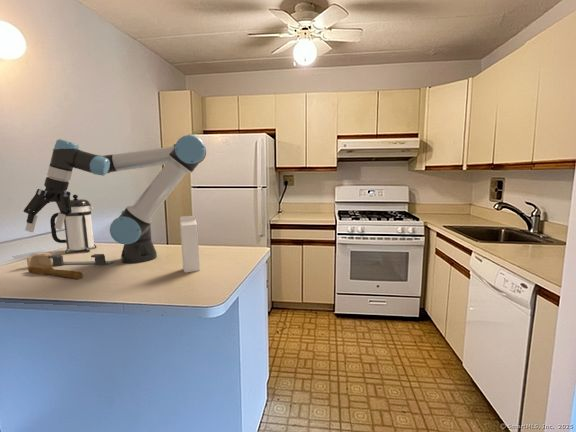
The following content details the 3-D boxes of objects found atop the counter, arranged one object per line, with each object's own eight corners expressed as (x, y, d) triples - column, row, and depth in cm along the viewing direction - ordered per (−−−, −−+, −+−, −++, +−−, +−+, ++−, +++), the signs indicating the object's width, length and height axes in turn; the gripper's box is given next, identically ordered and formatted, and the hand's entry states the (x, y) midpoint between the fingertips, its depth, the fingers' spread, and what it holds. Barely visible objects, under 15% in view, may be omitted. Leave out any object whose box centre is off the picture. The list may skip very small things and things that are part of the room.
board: (113, 262, 142) (112, 249, 141) (102, 267, 133) (100, 254, 133) (42, 263, 143) (41, 251, 142) (26, 269, 134) (25, 255, 134)
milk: (200, 270, 126) (196, 216, 123) (184, 272, 123) (180, 217, 120) (197, 266, 131) (194, 214, 128) (182, 268, 129) (179, 215, 126)
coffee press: (89, 246, 178) (83, 193, 174) (102, 249, 168) (96, 193, 165) (53, 252, 164) (46, 195, 160) (65, 256, 155) (58, 196, 151)
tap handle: (75, 273, 118) (25, 266, 129) (76, 280, 118) (26, 273, 129) (83, 270, 120) (33, 264, 131) (83, 278, 121) (34, 271, 132)
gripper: (73, 178, 137) (60, 225, 138) (20, 172, 112) (5, 229, 113) (88, 183, 136) (76, 230, 137) (39, 178, 111) (24, 235, 112)
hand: (44, 229), depth 125 cm, fingers open, 13 cm apart
